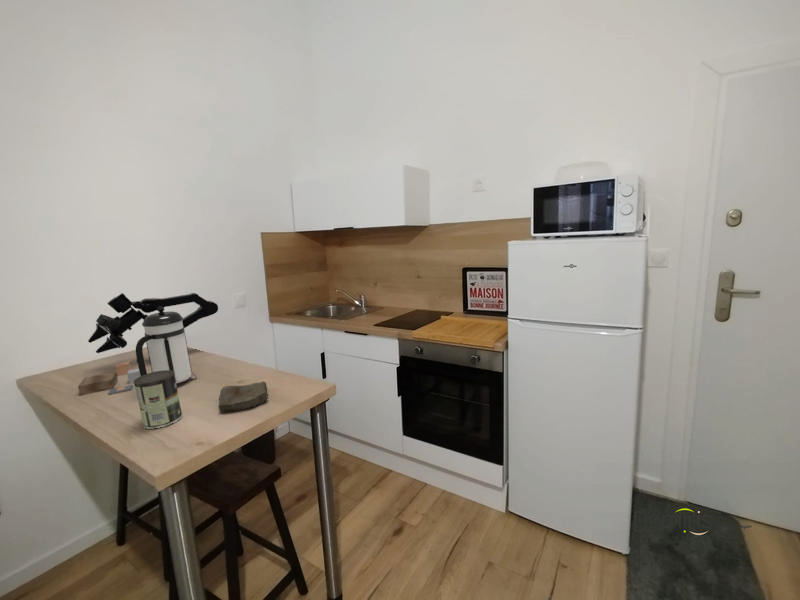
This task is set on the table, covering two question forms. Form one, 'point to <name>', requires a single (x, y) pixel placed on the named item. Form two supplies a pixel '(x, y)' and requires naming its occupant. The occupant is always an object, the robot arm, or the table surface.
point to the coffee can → (158, 399)
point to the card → (120, 389)
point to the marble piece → (242, 396)
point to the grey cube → (133, 375)
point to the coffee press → (165, 345)
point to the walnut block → (98, 383)
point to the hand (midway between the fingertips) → (92, 347)
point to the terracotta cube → (123, 368)
